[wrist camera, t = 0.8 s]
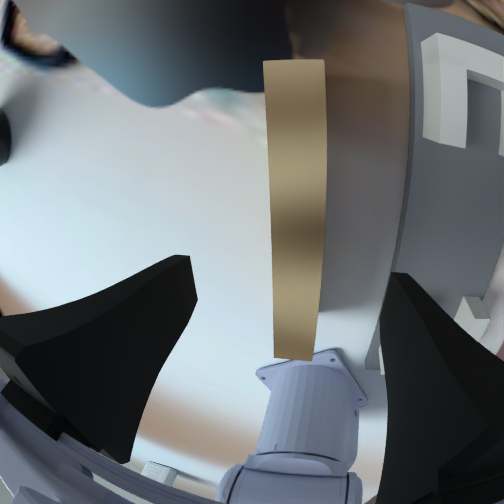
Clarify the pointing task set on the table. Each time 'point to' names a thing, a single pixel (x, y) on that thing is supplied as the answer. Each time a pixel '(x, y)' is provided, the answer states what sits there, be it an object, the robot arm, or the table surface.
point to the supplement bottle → (4, 138)
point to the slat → (296, 199)
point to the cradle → (452, 167)
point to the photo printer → (159, 473)
